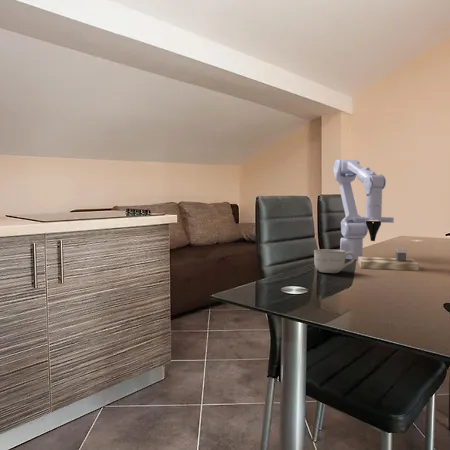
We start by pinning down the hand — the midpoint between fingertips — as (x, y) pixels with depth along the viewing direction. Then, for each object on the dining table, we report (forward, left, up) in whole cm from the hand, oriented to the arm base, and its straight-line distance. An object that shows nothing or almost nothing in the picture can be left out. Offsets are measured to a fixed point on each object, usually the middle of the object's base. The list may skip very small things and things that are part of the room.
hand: (372, 240), depth 157 cm
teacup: (-15, -20, -10) cm, 27 cm away
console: (+5, -3, -9) cm, 11 cm away
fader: (+10, -3, -7) cm, 12 cm away
